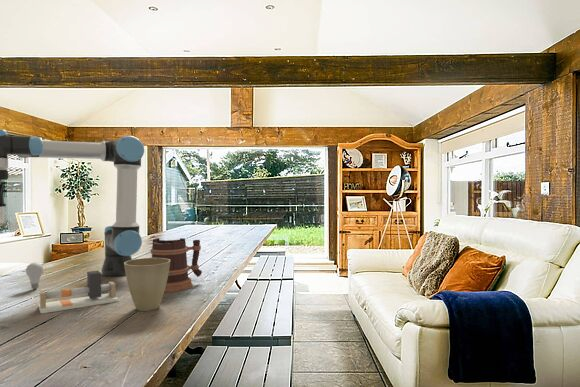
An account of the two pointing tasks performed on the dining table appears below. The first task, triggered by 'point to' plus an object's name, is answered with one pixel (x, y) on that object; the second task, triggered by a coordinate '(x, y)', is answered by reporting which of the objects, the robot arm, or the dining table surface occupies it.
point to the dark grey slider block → (94, 284)
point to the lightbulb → (34, 274)
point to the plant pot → (147, 281)
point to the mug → (177, 262)
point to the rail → (75, 302)
